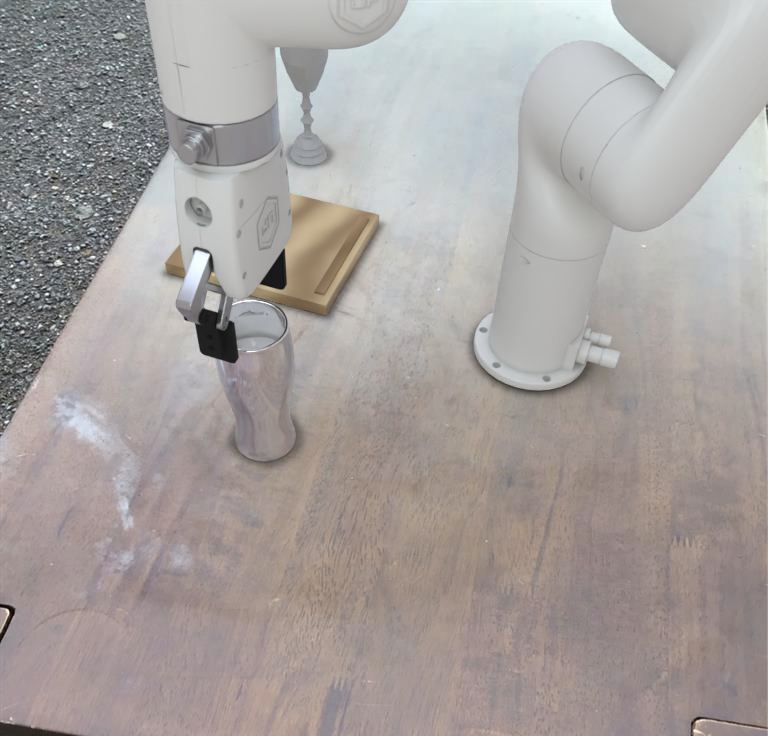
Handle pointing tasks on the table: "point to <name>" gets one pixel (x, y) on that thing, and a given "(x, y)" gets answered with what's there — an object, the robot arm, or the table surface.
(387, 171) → the table surface
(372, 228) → the serving board
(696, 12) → the robot arm
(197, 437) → the table surface
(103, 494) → the table surface
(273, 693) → the table surface
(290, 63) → the chalice
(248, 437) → the beer glass
